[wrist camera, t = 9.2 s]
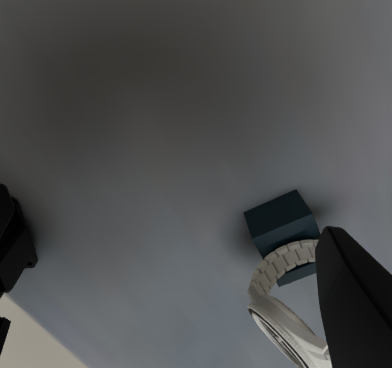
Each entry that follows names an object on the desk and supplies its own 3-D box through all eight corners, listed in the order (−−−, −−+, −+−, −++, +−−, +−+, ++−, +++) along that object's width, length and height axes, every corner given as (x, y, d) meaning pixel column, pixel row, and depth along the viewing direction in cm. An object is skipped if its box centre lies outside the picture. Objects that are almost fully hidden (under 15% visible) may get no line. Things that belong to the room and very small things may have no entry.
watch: (221, 222, 24) (249, 364, 14) (318, 179, 22) (424, 305, 13) (248, 267, 26) (287, 412, 17) (337, 231, 25) (436, 368, 15)
